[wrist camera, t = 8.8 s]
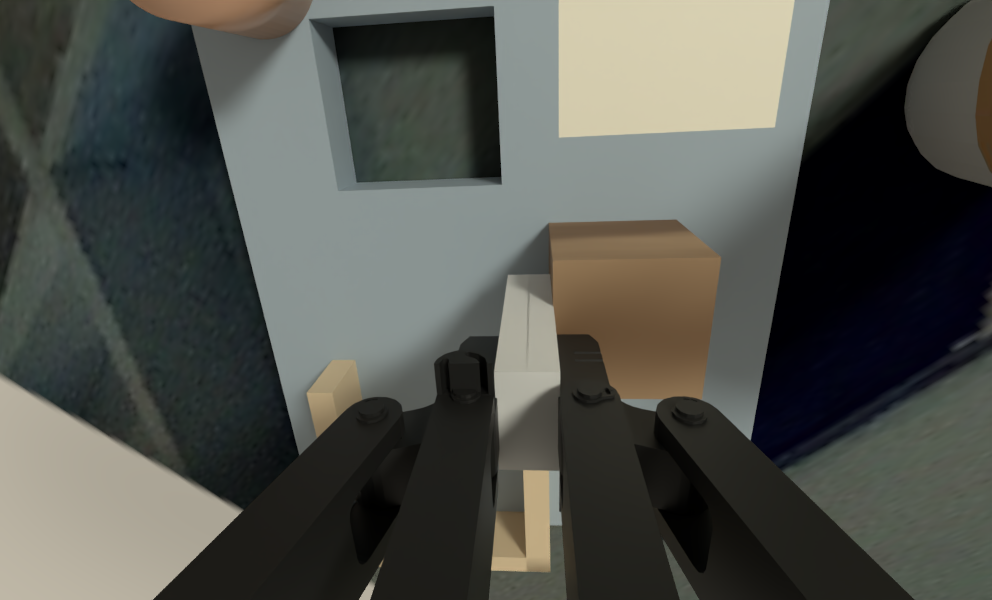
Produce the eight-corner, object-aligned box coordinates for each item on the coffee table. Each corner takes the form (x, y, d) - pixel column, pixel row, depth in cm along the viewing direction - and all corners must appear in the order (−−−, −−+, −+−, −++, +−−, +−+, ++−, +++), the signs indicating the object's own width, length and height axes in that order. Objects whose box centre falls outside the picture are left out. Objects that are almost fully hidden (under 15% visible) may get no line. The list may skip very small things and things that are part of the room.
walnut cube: (548, 222, 18) (552, 260, 13) (676, 219, 17) (721, 257, 13) (548, 334, 19) (552, 398, 15) (665, 333, 19) (702, 399, 15)
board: (200, -82, 17) (88, -143, 12) (820, -139, 15) (931, -232, 11) (331, 490, 26) (292, 564, 22) (719, 496, 24) (757, 578, 20)
